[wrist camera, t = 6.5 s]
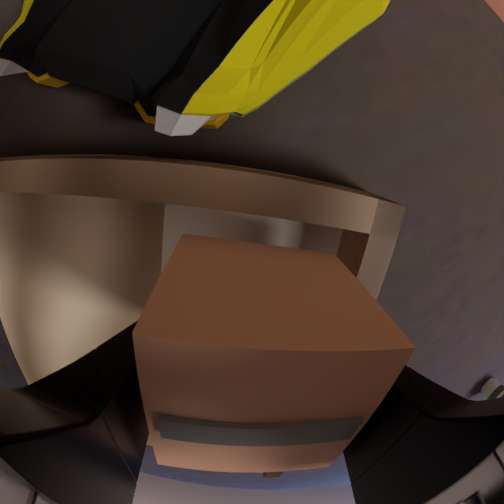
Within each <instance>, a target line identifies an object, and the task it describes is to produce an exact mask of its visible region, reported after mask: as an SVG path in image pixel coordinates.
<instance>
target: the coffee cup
mask: <svg viewBox="0 0 504 504" xmlns="http://www.w3.org/2000/svg"><path fill="white" fill-rule="evenodd" d="M481 393H482V395H483V397H484V399H485V400H489V399H495V398H500V397H504V386H503V385H502V384H501V383H500V382H499V381H497V380H496V379H495V378H494V377H492V378H490V379H489V380H488V381H487V382H486V383H485V384H484V386H483V387H482V389H481Z"/></svg>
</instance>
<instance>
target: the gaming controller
mask: <svg viewBox="0 0 504 504" xmlns="http://www.w3.org/2000/svg"><path fill="white" fill-rule="evenodd" d="M389 2H390V0H24V4H23V8H22V13H21V15H20V17H19V18H18V20H17V21H16V23H15V24H14V25H13V26H12V28H11V29H10V30H9V31H8V32H7V33H6V34H5V35H4V37H3V39H2V41H1V43H0V76H5V75H10V74H16V73H23V72H26V73H27V74H28V76H29V77H30V78H31V79H33V80H34V81H35V82H36V83H39V84H43V85H48V86H52V87H55V88H59V87H61V86H64V85H66V84H69V83H73V84H76V85H79V86H82V87H86V88H89V89H91V90H94V91H97V92H100V93H103V94H106V95H109V96H111V97H114V98H117V99H119V100H122V101H125V102H127V103H130V104H132V105H134V106H135V107H136V109H137V110H138V112H139V114H140V115H141V117H142V118H143V120H144V121H145V122H146V123H149V124H152V125H155V131H157V132H160V133H163V134H166V135H169V136H179V135H192V134H193V133H194V132H196V131H197V130H198V129H199V128H207V129H218V128H219V127H220V126H221V125H222V124H223V123H224V122H225V121H226V120H227V119H228V118H235V119H240V118H242V117H244V116H246V115H248V114H250V113H252V112H254V111H256V110H257V109H259V108H260V107H261V106H263V105H264V104H265V103H266V102H268V101H269V100H270V99H272V98H273V97H275V96H276V95H277V94H279V93H280V92H281V91H283V90H284V89H285V88H287V87H288V86H290V85H291V84H293V83H294V82H295V81H297V80H298V79H300V78H301V77H303V76H304V75H305V74H307V73H308V72H309V71H310V70H311V69H313V68H314V67H315V66H316V65H317V64H319V63H320V62H321V61H322V60H324V59H325V58H326V57H327V56H329V55H330V54H331V53H332V52H334V51H335V50H336V49H338V48H339V47H340V46H341V45H343V44H344V43H345V42H347V41H348V40H349V39H351V38H352V37H353V36H355V35H356V34H358V33H359V32H360V31H362V30H363V29H365V28H366V27H367V26H368V25H370V24H371V23H372V22H373V21H374V20H376V19H377V18H378V17H379V16H381V15H382V14H383V13H384V11H385V10H386V8H387V6H388V4H389Z"/></svg>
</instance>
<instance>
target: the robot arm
mask: <svg viewBox="0 0 504 504" xmlns="http://www.w3.org/2000/svg"><path fill="white" fill-rule="evenodd" d="M137 322H138V320H137V321H136V322H134V323H133V324H131V325H130V326H128V327H127V328H125V329H124V330H122V331H121V332H119V333H117V334H116V335H114V336H113V337H111V338H110V339H108V340H107V341H105V342H104V343H102V344H101V345H99V346H98V347H96V349H93V350H92V351H90V352H89V353H87V354H85V355H84V356H82V357H81V358H79V359H77V360H76V361H74V362H72V363H70V364H69V365H67V366H65V367H63V368H61V369H59V370H57V371H55V372H53V373H51V374H49V375H47V376H46V377H44V378H42V379H40V380H38V381H36V382H34V383H32V384H29V385H27V386H25V387H21V388H15V389H9V388H2V387H0V504H132V502H133V497H134V493H135V489H136V482H137V480H138V475H139V471H140V467H141V463H142V459H143V456H144V452H145V448H146V444H147V440H148V437H149V429H148V425H147V421H146V416H145V411H144V407H143V402H142V396H141V391H140V385H139V379H138V373H137V367H136V360H135V352H134V344H133V335H132V332H133V330H134V328H135V326H136V324H137ZM343 453H344V457H345V461H346V465H347V469H348V473H349V477H350V481H351V486H352V490H353V494H354V499H355V503H356V504H504V397H500V398H495V399H489V400H483V401H473V400H468V399H465V398H463V397H461V396H459V395H457V394H455V393H453V392H451V391H450V390H448V389H446V388H444V387H442V386H440V385H438V384H436V383H435V382H433V381H431V380H429V379H427V378H426V377H424V376H422V375H421V374H419V373H418V372H416V371H414V370H413V369H411V368H410V367H408V368H407V366H406V365H405V366H404V368H403V369H402V371H401V373H400V374H399V376H398V377H397V379H396V381H395V382H394V384H393V385H392V387H391V388H390V390H389V391H388V393H387V394H386V396H385V397H384V399H383V400H382V402H381V403H380V405H379V406H378V407H377V409H376V410H375V412H374V413H373V414H372V416H371V417H370V418H369V420H368V421H367V422H366V424H365V425H364V426H363V427H362V429H361V430H360V431H359V433H358V434H357V435H356V436H355V437H354V439H353V440H352V441H351V442H350V443H349V445H348V446H347V447H346V448H345V449H344V450H343Z"/></svg>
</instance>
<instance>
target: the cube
mask: <svg viewBox="0 0 504 504" xmlns="http://www.w3.org/2000/svg"><path fill="white" fill-rule="evenodd" d="M132 335H133V344H134V352H135V360H136V367H137V373H138V379H139V385H140V391H141V396H142V402H143V407H144V411H145V416H146V421H147V425H148V429H149V433H150V437H151V441H152V445H153V449H154V453H155V456H156V460H157V463H158V464H160V465H166V466H172V467H179V468H187V469H195V470H206V471H219V472H280V471H294V470H304V469H313V468H320V467H327V466H330V465H331V464H332V463H333V461H334V460H335V459H336V458H337V457H338V456H339V455H340V454H341V453H342V452H343V450H344V449H345V448H346V447H347V446H348V445H349V443H350V442H351V441H352V440H353V439H354V437H355V436H356V435H357V434H358V433H359V431H360V430H361V429H362V427H363V426H364V425H365V424H366V422H367V421H368V420H369V418H370V417H371V416H372V414H373V413H374V412H375V410H376V409H377V407H378V406H379V405H380V403H381V402H382V400H383V399H384V397H385V396H386V394H387V393H388V391H389V390H390V388H391V387H392V385H393V384H394V382H395V381H396V379H397V377H398V376H399V374H400V373H401V371H402V369H403V368H404V366H405V364H406V363H407V361H408V359H409V357H410V356H411V354H412V352H413V350H414V348H415V347H414V346H413V345H412V343H411V342H410V341H409V340H408V338H407V337H406V336H405V335H404V333H403V332H402V331H401V330H400V328H399V327H398V326H397V325H396V324H395V322H394V321H393V320H392V319H391V318H390V316H389V315H388V314H387V313H386V312H385V310H384V309H383V308H382V307H381V306H380V305H379V303H378V302H377V301H376V300H375V299H374V298H373V296H372V295H371V294H370V293H369V292H368V291H367V289H366V288H365V287H364V286H363V285H362V284H361V283H360V282H359V280H358V279H357V278H356V277H355V276H354V275H353V274H352V273H351V271H350V270H349V269H348V268H347V267H346V266H345V265H344V264H343V263H342V262H341V260H340V259H339V258H338V257H337V256H336V255H335V254H333V253H325V252H318V251H311V250H304V249H296V248H289V247H281V246H274V245H266V244H259V243H251V242H244V241H236V240H228V239H220V238H212V237H205V236H197V235H189V234H182V236H181V238H180V240H179V242H178V243H177V245H176V247H175V249H174V251H173V253H172V254H171V256H170V258H169V260H168V262H167V264H166V266H165V268H164V269H163V271H162V273H161V275H160V277H159V279H158V281H157V283H156V285H155V287H154V289H153V291H152V293H151V295H150V297H149V299H148V301H147V303H146V305H145V307H144V309H143V311H142V313H141V315H140V317H139V319H138V322H137V324H136V326H135V328H134V330H133V332H132Z"/></svg>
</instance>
